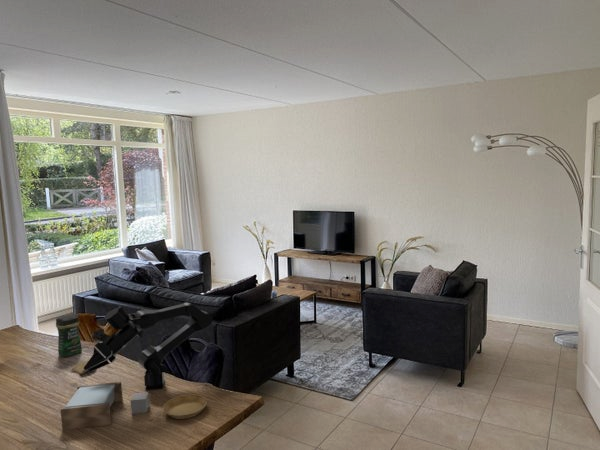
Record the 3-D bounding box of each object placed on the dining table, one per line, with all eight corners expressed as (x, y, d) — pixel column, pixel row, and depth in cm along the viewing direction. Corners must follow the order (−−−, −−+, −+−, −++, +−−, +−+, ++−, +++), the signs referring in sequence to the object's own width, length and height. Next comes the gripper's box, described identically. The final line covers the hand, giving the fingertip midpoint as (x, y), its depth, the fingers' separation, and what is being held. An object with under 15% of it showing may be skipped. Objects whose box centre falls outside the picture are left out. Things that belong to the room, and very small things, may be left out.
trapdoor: (115, 397, 169) (114, 384, 168) (104, 417, 155) (103, 403, 154) (80, 400, 167) (79, 387, 167) (66, 421, 153) (65, 406, 153)
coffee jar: (64, 359, 212) (60, 319, 210) (56, 355, 216) (52, 316, 214) (85, 351, 220) (81, 313, 217) (76, 348, 224) (72, 311, 222)
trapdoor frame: (122, 399, 171) (121, 381, 170) (110, 424, 154) (108, 404, 153) (79, 404, 169) (78, 385, 168) (62, 429, 152) (60, 409, 151)
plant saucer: (171, 401, 169) (170, 394, 169) (211, 400, 168) (211, 393, 168) (157, 423, 154) (157, 415, 154) (201, 422, 154) (201, 414, 154)
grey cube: (149, 405, 166) (148, 392, 166) (146, 412, 161) (145, 398, 161) (134, 406, 166) (133, 393, 165) (131, 414, 161) (130, 400, 160)
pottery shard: (70, 375, 199) (77, 376, 191) (69, 364, 199) (76, 365, 192) (96, 368, 206) (104, 369, 199) (95, 358, 206) (103, 359, 199)
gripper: (109, 327, 181) (75, 357, 174) (104, 318, 164) (65, 350, 157) (129, 347, 180) (95, 378, 173) (126, 340, 164) (88, 374, 157)
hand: (86, 370), depth 165 cm, fingers open, 9 cm apart
